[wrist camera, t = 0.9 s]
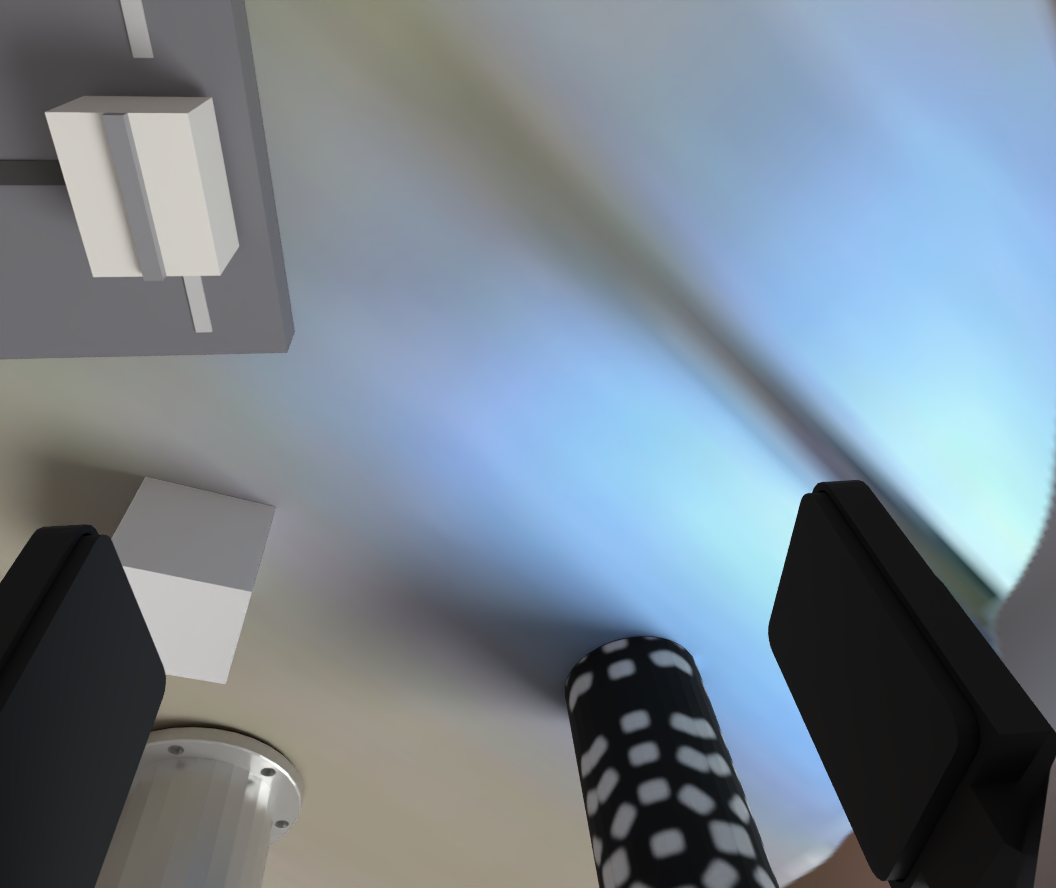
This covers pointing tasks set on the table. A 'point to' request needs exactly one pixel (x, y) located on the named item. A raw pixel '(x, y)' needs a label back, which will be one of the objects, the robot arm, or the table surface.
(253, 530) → the white cube
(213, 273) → the fader
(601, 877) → the spotted tube
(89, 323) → the console
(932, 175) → the table surface
